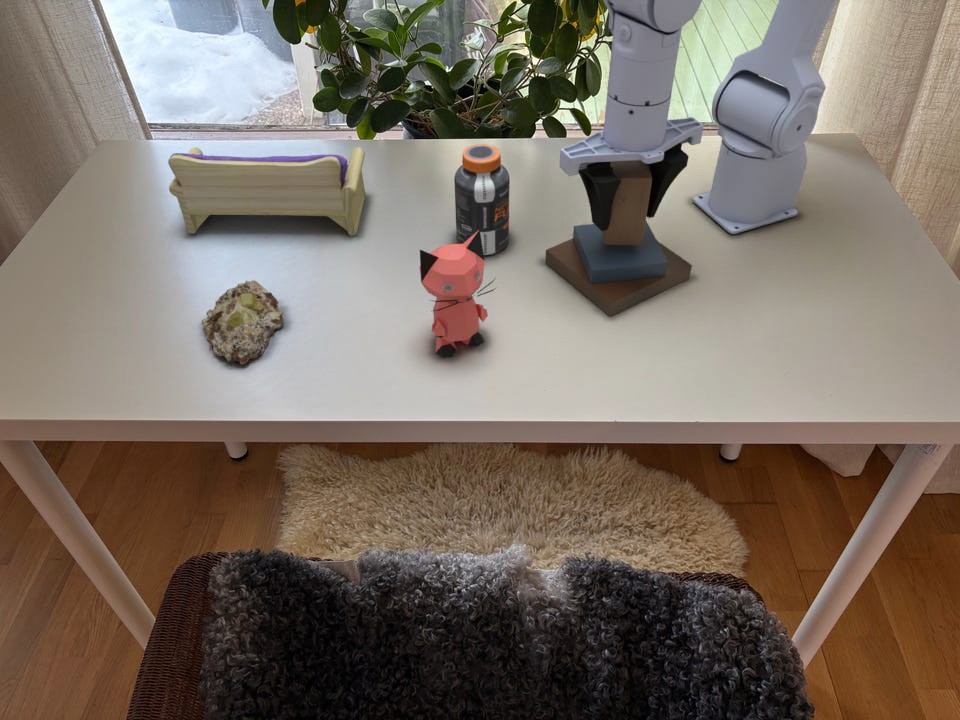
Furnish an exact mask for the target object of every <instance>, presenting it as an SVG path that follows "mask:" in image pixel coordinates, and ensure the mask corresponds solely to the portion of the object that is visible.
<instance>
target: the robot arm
mask: <svg viewBox="0 0 960 720" xmlns="http://www.w3.org/2000/svg"><path fill="white" fill-rule="evenodd" d="M602 1H603V3H604V5H605V7H606V9H607V12H608V15H609V16H608V29H609V30H610V33H611V34H612V39H611V51H610V62H609V70H608V80H607V91H606V101H605V114H604V123H603V129H600V130H598V131H597V132H595V133H593V134H591V135H589V136H588V137H585V138H583V139H581V140H580V141H578V142H575V143H573V144H571V145H569V146H565V147H561V148H560V149H559V150H560V151H559V166H558V167H559V168H560V169H561V170H562V171H563V173H565V174H566V175H567V176H568V177H574V176H576V175H578V174H579V177H580V179H581V181H582V183H583V186H584V188H585V189H584V190H585V192H586V195H587V199H588V203H589V208H590V214H591V222H592V224H595V225H596V226H597V227H598V228H599V229H600V230H601V231H604V230H608V227H609V224H610V218H611V210H612V204H613V200H614V197H615V194H616V191H617V189H618V187H619V185H620V183H621V180H620V179H619V178H618V177H617V176H616V175H615V174H614V173H613V167H611V166H610V164H611V162H612V161H634V160H641V161H642V162H643V163H645V164H649V166H650V171H651V176H652V184H651V191H650V197H649V204H648V210H647V217H646V218H648V219H650V218H654V217H655V215H656V213H657V210H658V209H659V207H660V205H661V203H662V200H663V199H664V197H665V195H666V193H667V191H668V190H669V188H670V186H671V185H672V184H673V182H674V181H675V180H676V178H677V177H678V176H679V175H680V174H681V173H682V172H683V170H684V169H686V167H687V166H688V162H689V154H687V153H686V152H685V151H683V149H682V146H683V145H684V144H689V145H690V146H695V145H699V144H701V143H702V138H703V133H704V132H703V131H704V126H705V125H704V124H703V123H701V122H700V121H699V120H697V119H696V118H694V117H693V116H689V117H684V118H674V119H669V112H670V107H671V101H672V92H673V86H674V80H675V74H676V68H677V61H678V55H679V50H680V49H679V48H680V43H681V36H682V30H683V27H684V26H686V25H687V24H688V22H690V21H691V20H692V19H693V18H694V17H695V16H696V14H697V12H698V10H700V9H699V8H700V7H701V4H702V2H703V0H602ZM837 1H838V0H778V3H777V5H776V7H775V10H774V12H773V15H772V17H771V20H770V22H769V24H768V27H767V30H766V32H765V35H764V37H763V40H762V41H761V44H760V45H758V46H757V47H754V48H752V49H750V50H748V51H745V52H743V53H740V54H739V55H737V56H736V57H734V60H733V62H732V65H731V67H730V69H729V71H728V73H727V74H726V76H725V77H724V79H723V80H722V81H721V82H720V83H719V86H718V87H717V89H716V90H715V93H714V95H713V98H712V102H711V118H712V120H713V122H714V123H715V124H717V125H718V129H717V133H716V134H717V135H718V136H719V137H720V138H721V142H720V146H719V151H718V156H717V161H716V164H715V170H714V175H713V179H712V183H711V187H710V188H711V189H710V192H705V193H703V194H699V195H696V196H693V198H692V202H693V203H694V204H695V205H696V206H697V207H698V208H699V209H701V210H702V211H703V212H704V213H706V215H708V216H709V217H710V218H711V219H712V220H714V221H715V222H716V223H717V224H718V225H720V226H721V228H723V229H724V230H725V231H726V232H728V233H729V234H730V235H736V234H739V233H743V232H746V231H749V230H753V229H756V228H760V227H763V226H767V225H769V224H770V225H771V224H773V223H777V222H779V221H783V220H787V219H790V218H793V217H797V216H798V213H799V212H798V210H797V209H796V208H795V204H796V201H797V198H798V195H799V191H800V188H801V184H802V181H803V178H804V176H805V175H804V174H805V171H806V168H807V164H808V154H807V148H806V145H805V142H807V140H808V139H809V137H810V136H811V134H812V132H813V130H814V128H815V126H816V123H817V119H818V115H819V114H818V113H819V108H820V104H821V101H822V99H823V96H824V93H825V91H826V88H827V87H826V84H825V82H824V79H823V78H822V76H821V74H820V72H819V71H818V69H817V67H816V65H815V62H814V60H813V55H814V53H815V51H816V49H817V47H818V44H819V42H820V40H821V37H822V35H823V34H824V31H825V29H826V26H827V24H828V22H829V19H830V17H831V15H832V13H833V11H834V8H835V6H836V3H837Z"/></svg>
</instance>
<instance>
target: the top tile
mask: <svg viewBox="0 0 960 720" xmlns="http://www.w3.org/2000/svg"><path fill="white" fill-rule="evenodd" d="M572 233H573V235H572V238H573V241H574V243H575V246H576V248H577V251H578V253H579V256H580V258H581V261H582V263H583V266H584V268H585V271H586V273H587V276H588V279H589V281H590V284H596V283H605V282H614V281H623V280H633V279H642V278H651V277H660V276H666V272H667V266H668V261H667V259H666V257H665V255H664V253H663V251H662V249H661V247H660V246H659V244H658V242H659V241H658V240H657V238H656V237H655V234H654V232H653V231H652V229H651V227H650V224H649V223H648V221H647V220H646V223H645V230H644V236H643V242H642V244H641V245H607V244H605V243H604V241H603V233H602V231H601V230H600V229H599V228H598V227H597V226H596V225H595V224H594V223H589V224H580V225H579V224H578V225H577V224H576V225H573V232H572ZM657 241H658V242H657Z"/></svg>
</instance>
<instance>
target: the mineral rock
mask: <svg viewBox="0 0 960 720" xmlns="http://www.w3.org/2000/svg"><path fill="white" fill-rule="evenodd" d="M205 315H207V316H206V317H204V318H202V320H201V325H203V328H204V330H205V331H204V332H205V335H206V336H205V337H206V338H207V340H208V343H209V344H210V345H212V346H213V348H212V351H213V353H214V354H215V355H217V356H218V357H224V358H225V360H227V362H228V363H229V362H230V363H233V362H237V363H239V364H240V365H241V366H244V365H246V364H247V363H248V362H249V360H251V359H256V358H259V357H260V356H261V355H263V353H264V352H265V349H266V348H268V346H269V344H270V338H271V335H273V333H274V332H275V331H276V330H280V328H281V327H282V325H283V324H284V321H285V319H284V316H283V315H284V313H283V312H282V311H281V309H280V308H279V300H278V299H277V298H276V297H275V296H274V294H273V293H272V292H271V291H270V292H269V290H267V288H265V287H264V286H263V285H261V284H260V283H259V282H258V281H257V280H245V281H244V283H243V282H241V283H238V284H237V285H236V286H235V287H232V288H228V289H226V291H225V292H224V293H223V294H222V295H220V296H219V297H218V299H216V301H215V305H214V308H213V309H210V308H209V309H208V310H207V311H206V314H205Z"/></svg>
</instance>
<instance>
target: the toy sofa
mask: <svg viewBox="0 0 960 720" xmlns="http://www.w3.org/2000/svg"><path fill="white" fill-rule="evenodd" d="M365 156H366V152H365V150H364V149H363V148H362V147H359V146H358V147H354V148H353V149H352V151H351V154H350V156H349V157H350V158H349V161H348V159H347V158H345V157H344V156H343V155H339V154H312V155H300V156H297V155H296V156H291V155H272V156H261V157H251V156H247V157H245V156H230V155H229V156H228V155H205V154H204V153H203V151H202V150H201V149H200V148H198V147H195V146H194V147H191V148H190V149H189V151H188V152H187V153H185V152H175V153H172V154H171V155H170V156H169V158H168V162H167V163H168V166H169V168H170V170H171V172H172V173H173V175H174V177H173V179H172V180H171V182H170V184H169V186H168V191H169V193H170V194H171V195H172V196H174V197H176V199H177V202H178V206H179V208H180V212H181V215H182V217H183V221H184V224H185V227H186V231H187V233H188V234H191V235H193V234H196V233H197V231H198V230H199V228H200V227H201V226H202V225H203V223H204V222H205V221H207V218H208V217H209V216H211V215H212V216H214V215H215V216H223V215H224V216H225V215H226V216H228V215H229V216H233V215H234V216H235V215H236V216H307V217H308V216H309V217H311V216H312V217H313V216H314V217H327V218H329V219H330V220H332V221H333V222H335V223H336V224H337V225H339V226H340V227H341V228H343V229H344V230H345V231H346V232H347V234H348V235H349V236H350V237H355V236H356V235H357V233H358V231H359V227H360V222H361V219H362V214H363V209H364V204H365V199H366V189H365V183H364V178H363V176H364V175H363V171H362V170H363V165H364V161H365Z"/></svg>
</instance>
